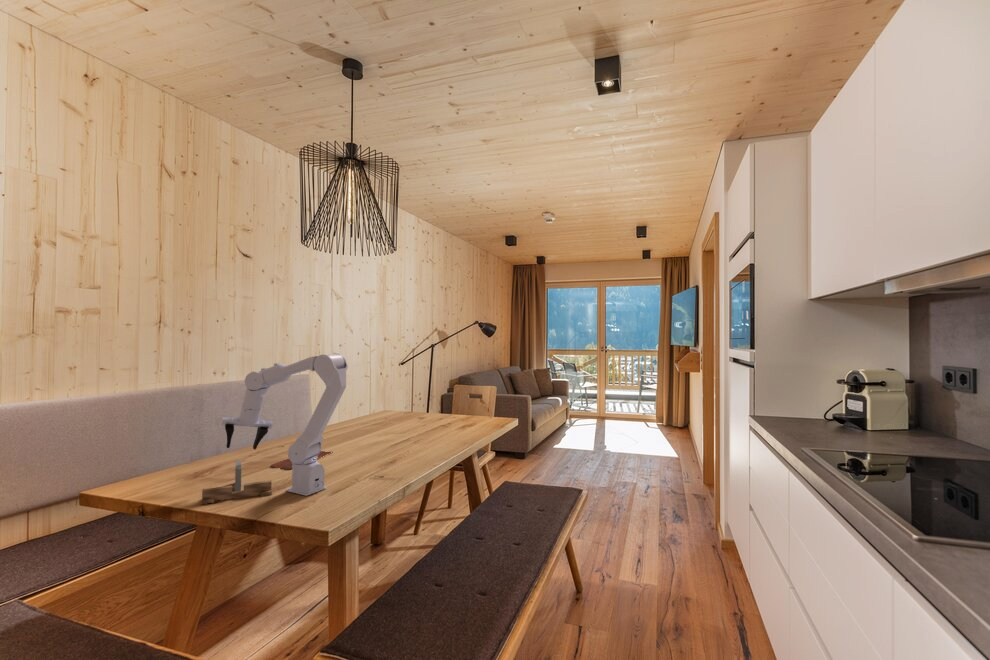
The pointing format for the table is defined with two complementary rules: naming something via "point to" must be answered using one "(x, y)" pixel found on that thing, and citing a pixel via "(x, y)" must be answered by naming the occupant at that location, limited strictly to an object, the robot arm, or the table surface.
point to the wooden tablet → (288, 464)
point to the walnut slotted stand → (226, 491)
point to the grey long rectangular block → (238, 476)
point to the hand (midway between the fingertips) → (241, 447)
